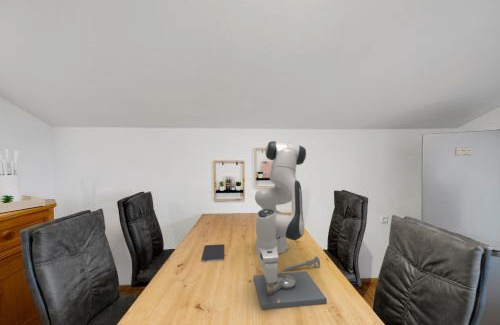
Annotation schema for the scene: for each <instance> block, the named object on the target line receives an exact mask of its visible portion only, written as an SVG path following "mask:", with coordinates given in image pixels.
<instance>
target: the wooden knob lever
mask: <svg viewBox="0 0 500 325" xmlns="http://www.w3.org/2000/svg"><path fill="white" fill-rule="evenodd" d="M294 287H295V278H294V277H292V276H290V275H280V276H278V277H277V284H275V285H274V286H273V283H268V282H267V294H268V295H273V293H274V292H275V291H277V290H279V289H280V288H282V289H292V288H294Z"/></svg>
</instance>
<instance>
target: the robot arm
mask: <svg viewBox="0 0 500 325" xmlns="http://www.w3.org/2000/svg"><path fill="white" fill-rule="evenodd" d="M264 150H265V151H264V152H265V153H264V154H265V157H266V158H267V159H268V160H270V161H272V163H271V167H270V173H269V176H268V177H269V181H270V182H271V183H272V184H273V185H274V186H273V187H267V188H264V187H263V188H262V189H258V190H257V191H256V192H255V195H254V200H255V202H256V204H257V205H258V206H259V207H261V210H259V211H258V212H257V213H256V217H255V218H256V220H255V235H256V239H255V254H256V255H257V256H258V261H259V264H260V266H261V268H262V271H263V275H264V279H265V282H268V283H275V282H276V281H277V274H279V273H278V272H279V270H278V268H279V267H278V266H279V264H278V263H279V262H280V257H279V256H280V255H279V254H283V253H285V252H286V251H287V250H289V249H290V247H289V246H288V244H287V239H288V240H291V241H297V240H299V239H301V238H302V237H303V236H304V233H305V232H304V231H305V224H304V213H303V191H302V185H301V183H300V181H298V180H297V177H296V172H297V165H302V164H304V162H305V161H306V158H307V149H306V148H305V147H304V146H302V145H298V144H297V145H296V144H294V143H290V142H283V141H282V142H281V141H275V140H273V141H269V142H268V143H267V144H266V146H265V149H264ZM289 203H291V214H290V215H289V214H283V213H282V212H281V211H278V210H277V206H279V205H281V206H282V205H285V204H289Z"/></svg>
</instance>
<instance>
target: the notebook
mask: <svg viewBox="0 0 500 325" xmlns="http://www.w3.org/2000/svg"><path fill="white" fill-rule="evenodd" d="M200 260H201V262H202V263H203V262H205V263H207V262H217V261H219V262H220V261H222V262H223V261H225V244H223V243H222V244H204V247H203V250H202V256H201V259H200Z"/></svg>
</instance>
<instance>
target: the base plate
mask: <svg viewBox="0 0 500 325" xmlns="http://www.w3.org/2000/svg"><path fill="white" fill-rule="evenodd" d="M280 275H290V276H292V277H294V278H295V287H294V288H292V289H282V288H280V289H279V290H277V291H275V292H274V293H273V295H268V294H267V282H265V279H264V274H255V275H253V282H254V287H255V290H256V293H257V296H258V301H259V305H260V308H261V310H262V311H263V310H274V309H282V308H283V309H285V308H293V307H294V308H296V307H304V306H314V305H315V306H317V305H325V304H326V305H327V302H328V301H327V297H326V296H325V294H324V293H323V292H322V291H321V288H319V286H318V285H317V284H316V283H315V281H314V280H313V278H312V277H311V276H310V274H309V272H307V271H294V272H281V273H278V274H277V277H278V276H280ZM275 284H277V281H276V282H275V283H273V286H274V285H275Z"/></svg>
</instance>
